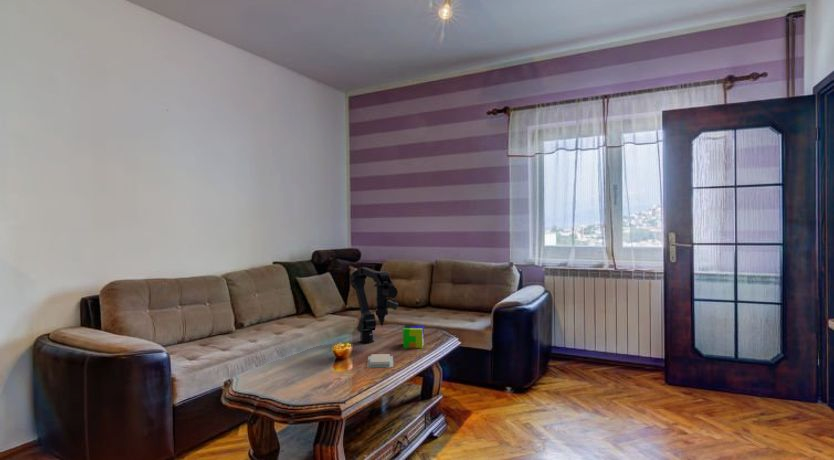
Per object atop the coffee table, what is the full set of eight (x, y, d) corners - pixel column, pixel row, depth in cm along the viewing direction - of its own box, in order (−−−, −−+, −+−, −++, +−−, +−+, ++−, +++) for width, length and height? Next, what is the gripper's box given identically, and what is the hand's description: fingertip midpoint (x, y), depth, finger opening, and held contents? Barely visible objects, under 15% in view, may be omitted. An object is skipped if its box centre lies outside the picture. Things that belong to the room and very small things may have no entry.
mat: (368, 357, 224) (368, 356, 224) (392, 356, 225) (392, 355, 225) (366, 368, 207) (366, 367, 207) (393, 367, 208) (393, 366, 208)
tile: (371, 354, 220) (370, 362, 208) (389, 354, 220) (389, 361, 208) (371, 358, 220) (370, 366, 208) (389, 358, 220) (389, 366, 208)
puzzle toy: (423, 343, 249) (423, 325, 249) (422, 348, 239) (422, 329, 239) (405, 343, 250) (405, 325, 250) (403, 348, 240) (403, 329, 240)
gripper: (397, 298, 231) (397, 329, 231) (396, 292, 250) (397, 321, 250) (375, 298, 231) (375, 329, 231) (376, 293, 249) (376, 321, 249)
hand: (382, 325), depth 240 cm, fingers closed
